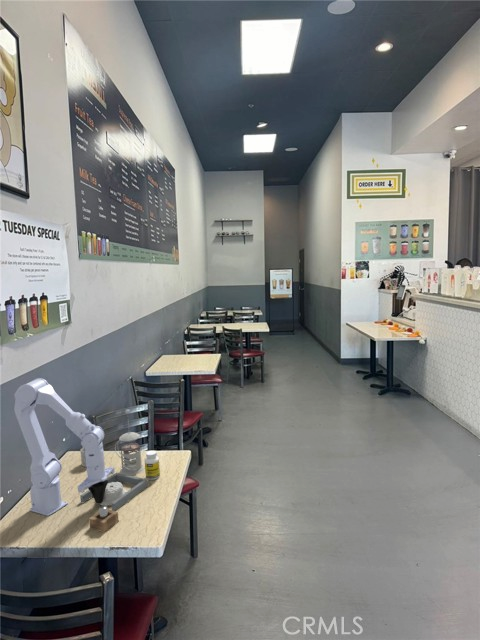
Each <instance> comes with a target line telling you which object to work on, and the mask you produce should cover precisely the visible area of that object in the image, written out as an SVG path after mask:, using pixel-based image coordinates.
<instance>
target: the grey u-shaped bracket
mask: <svg viewBox="0 0 480 640" xmlns="http://www.w3.org/2000/svg"><path fill="white" fill-rule="evenodd" d="M107 480H108V483H111V482H120V483H124V484H129V485H134V486H133V487H132V488H131V489H129V490H128V491H127V492H126V493H125V494H123V495H122V496H121V497H119V498H118V499H116V500H115V501H114V502H112V503H111V505H110V507H111V510H112V511H117V510H118V509H119V508H121V507H122V506H123V505H125V504H126V503H127V502H129V501H130V500H132V499H133V498H134V497H135V496H137V495H138V494H140V493H141V492H142V491H144V490H145V489H146V488H147V487H148V486H149V480H148V479H146V478H142V477H138V476H135V475H130V476H129V475H124V474H120V472H115V473H113V474H111V475H109V476H108V477H107ZM79 496H80V497H79V498H80V503H82V502H84V503H85V501H86V500H87V501H89V500H90V499H91V497H92V498H94V497H93V495H92V493H91V492H90V490H89V489H88V490H87V491H86V490H85V491H84V492H83V493H82V494H80V495H79ZM132 497H133V498H132ZM89 498H90V499H89ZM88 499H89V500H88ZM129 499H130V500H129ZM128 500H129V501H128ZM87 501H86V502H87Z"/></svg>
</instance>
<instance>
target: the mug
mask: <svg viewBox="0 0 480 640" xmlns="http://www.w3.org/2000/svg"><path fill="white" fill-rule="evenodd" d="M79 450H80V460H81V466H82V467H83V468H87V466H86V455H85V448H84V447H83V446H82V448H80V449H79Z"/></svg>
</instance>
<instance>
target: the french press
mask: <svg viewBox="0 0 480 640" xmlns="http://www.w3.org/2000/svg"><path fill="white" fill-rule="evenodd" d="M124 413H125V414H127V416H129V413H131V411H130V409H125V411H124ZM129 424H130V423H129V420H127V425H128V426H127V427H128V428H130V425H129ZM140 437H141V435H140V433H137V432H133V431H128V432H126V433H123V434H121V436H119V438H118V439H119V440H118V441H116V442H115V445H114V450H115V454H116V455H117V456H118V457H119V458H120V459H121V460H120V461H121V469H120V470H119V474H124V475H129V476H135V475H138V474H140V473H142V472H144V470H145V465H144V464H142V453H141V447H140V444H139V443H136V442H134V441H136V440H138V439H139V438H140ZM119 442H120V444H121V445H122V444H123V443H124V442H129V443H126V444H123V445H122V446H121V448H120V449H121V450H119V448H117V449H116V447H117V445H118V444H119ZM132 442H133V443H132ZM117 451H118V452H119V454H120V455H119V454H118V453H117Z"/></svg>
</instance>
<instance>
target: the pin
mask: <svg viewBox="0 0 480 640" xmlns="http://www.w3.org/2000/svg"><path fill="white" fill-rule="evenodd" d="M107 509H108V505H101V506H99V507H98V512H99V514H100V519H103V520H104V519H105V518H107V517H108V510H109V509H108V510H107Z"/></svg>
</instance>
